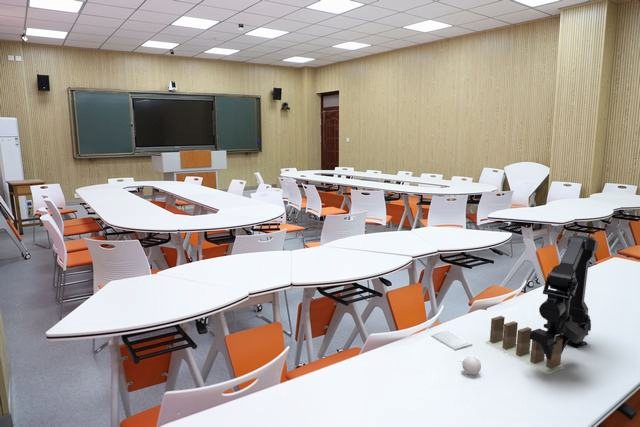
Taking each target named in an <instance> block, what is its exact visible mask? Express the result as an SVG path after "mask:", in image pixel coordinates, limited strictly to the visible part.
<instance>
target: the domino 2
mask: <svg viewBox="0 0 640 427" xmlns="http://www.w3.org/2000/svg"><path fill="white" fill-rule="evenodd" d="M518 324H519V323H518V322H517V321H509V322H506V323H504V332H503V347H502V348H503V349H505V350H508V349H511V348H514V347H516V344H517V335H518V327H519V326H518Z"/></svg>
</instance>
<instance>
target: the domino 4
mask: <svg viewBox="0 0 640 427" xmlns="http://www.w3.org/2000/svg"><path fill="white" fill-rule="evenodd" d="M530 351H531V358H530V362H531V363H533V364H536V363H539V362H541V361H544V357H545V358H546V355H545V353H544V351H543V348H542V346H541V344H540V343H538V342H536V341H534V340H531V346H530Z"/></svg>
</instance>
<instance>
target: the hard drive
mask: <svg viewBox="0 0 640 427" xmlns="http://www.w3.org/2000/svg"><path fill="white" fill-rule="evenodd" d="M430 337H431V338H433V339H435V340H436V341H438V342H440V343H441V344H443V345H445V346H446V347H448V348H450V349H451V350H454V351H455V352H456V351H459V350H463V349H466V348H469V347H473V344H472V343H471V342H469V341H467V340H465V339H463V338H462V337H460V336H458V335H457V334H454V333H453V332H451V331H450V330H443V331H440V332H437V333H433V334H431V336H430Z"/></svg>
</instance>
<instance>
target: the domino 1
mask: <svg viewBox="0 0 640 427" xmlns="http://www.w3.org/2000/svg"><path fill="white" fill-rule="evenodd" d="M504 324H505V316H502V315H499V316H496V317H492V318H491V320H490V333H489V334H490V335H489V341H490V342H491V343H493V344H494V343H497V342H500V341H503V334H504Z"/></svg>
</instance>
